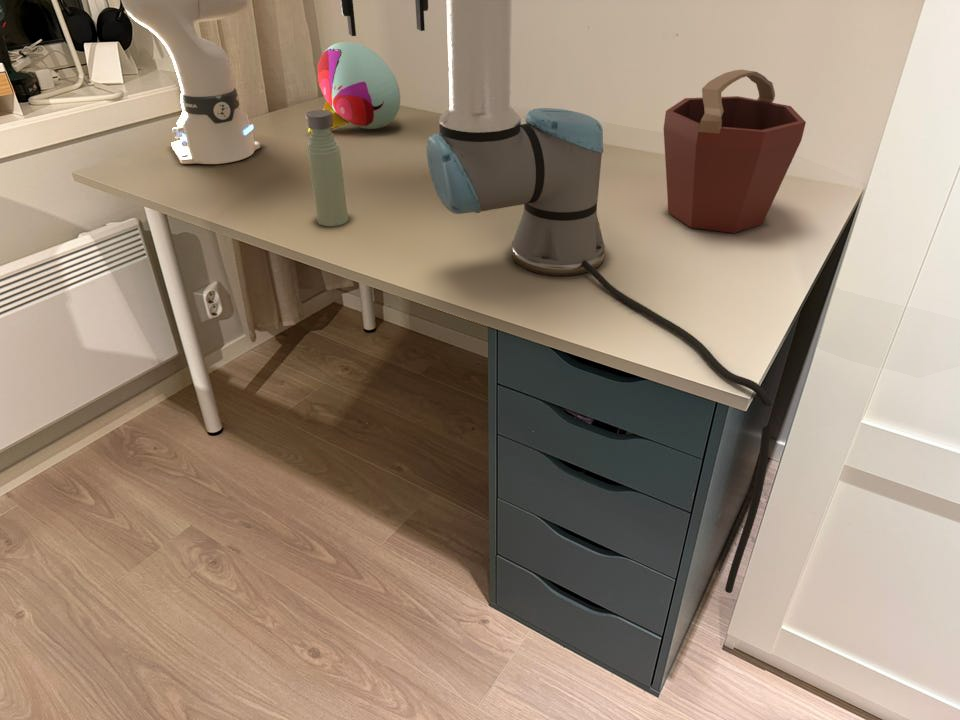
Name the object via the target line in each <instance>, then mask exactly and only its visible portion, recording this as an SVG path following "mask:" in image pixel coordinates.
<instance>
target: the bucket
mask: <svg viewBox="0 0 960 720" xmlns="http://www.w3.org/2000/svg"><path fill="white" fill-rule="evenodd" d="M746 77H747V78H748V79H749V80H750V81H751V82H752V83H754V84H755V85H756V88H757V91H758V98H757V99H754V98H750V97H744V96H739V95H736V96H733V95H732V96H731V95H730V96H722V92H724V91H725V90H726V89H727V88H728V87H729V86H730V85H732V84H734V83H735V82H737V81H738V80H740V79H743V78H746ZM701 96H702V97H685V98H683V99H682V100H680V101H679V102H677V103H676V104H674V105H672V106H670V107H669V108H668V109H667V110H665V115H664V122H663V143H664V156H665V157H664V159H665V161H664V162H665V177H666V179H665V180H666V192H667V193H666V194H667V196H666V197H667V212H668V214H670V215H671V216H672V217H674V218H676V219H677V220H679V221H680V222H681V223H683V224H684V225H686V226H687V227H689V228H691V229H698V230H707V231H715V232H721V233H732V234H735V233H739V232H742V231H745V230H749V229H751V228H754V227H757V226H760V225H762V224H764V222H765V219H766V218H767V215H768V213H769V211H770V209H771V207H772V205H773V202H774V201H775V198H776V196H777V195H778V192H779V189H780V187H781V185H782V183H783V181H784V179H785V177H786V175H787V173H788V170H789V168H790V167H791V164H792V162H793V159H794V158H795V155H796V153H797V151H798V150H799V149H798V148H799V147H800V145H801V142H802V139H803V135H804V132H805V128H806V125H807V124H806V120H805V119H804V118H803V117H802V116H801V115H800V114H799V113H798V112H797V111H796V110H795V109H794V108H793V107H792V106H791V105H787V104H781V103H776V102H774V101H775V98H776V92H775V88H774V83H773V82H772V81H771V80H769V79H768V78H767V77H766V76H765V75H763V74H761V73H760V72H758V71H755V70H748V69H735V70H732V71H727V72H724V73H722V74H720V75H717V76H716V77H714V78H713V79H711V80H709V81H708V82H707V83H706V84H705V85H704V86H703V87H702V88H701Z"/></svg>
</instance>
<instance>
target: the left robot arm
mask: <svg viewBox="0 0 960 720" xmlns="http://www.w3.org/2000/svg"><path fill="white" fill-rule="evenodd" d="M120 2H121V4H122V6H123V9H124V10H125V11H126V13H127V15H128V16H129V17H131V19H132V20H134V21H135V22H136V23H138V24H139V25H141V26H142V27H144V28H146V29H147V30H149V31H150V32H151V33H152V34H153V35H154V36H156V38H158V39H159V40H160V42H161V43H162V44H163V46H164V47H165V49H166V50H167V52H168V54H169V55H170V58H171V60H172V63H173V66H174V69H175V72H176V76H177V78H178V83H179V87H180V91H181V93H180V100H179V101H180V104H181V109H182V110H181V111H182V112H181V115H180V117H179V118H178V120H177V122H176V126H177V127H173V128H172V134H173V137H174V139H176V141H173V142H171V148H172V151H173V152H174V154H175V156H176V157H177V159H178V160H179V162H180V163H181V164H182V165H192V164H193V165H194V164H197V165H198V164H199V165H200V164H201V165H221V164H229V163H233V162H234V163H235V162H238V161H241V160H244V159H247V158H249V157H251V156H252V155H253V154H254V153H255V151H256V150H258V149H260V148H261V143H260V142H259V141H256V140H255V139H254V136H253V132H252V131H253V130H254V124H250V120H249V116H248V114H247V113H246V111H244V110H243V109H242V108H240V101H239V94H238V90H237V88H235V86H234V81H233V76H232V71H231V65H230V61H229V56H228V55H227V53H226V51H225V50H224V48H223V47H221V45H219V44H218V43H215V42H213V41H211V40H208V39H205V38H204V37H203V38H202V37H200V36H199V35H198V33H197V31H196V29H195V28H196V27H195V24H196V23H202V22H204V23H205V22H211V21H212V22H213V21H221V20H226V19H230V18H232V17H235V16H238V15H240V14H243V13H245V12H246V10H247V8H248V6H249V4H250V0H120ZM178 139H179V140H178Z"/></svg>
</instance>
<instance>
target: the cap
mask: <svg viewBox="0 0 960 720" xmlns="http://www.w3.org/2000/svg"><path fill="white" fill-rule="evenodd" d="M305 120H306V127H307V129H309V128H310V129H327V128H330V127H332V126H333V118H332V112H331V111H327V110H323V109H318V110H317V109H316V110H310V111H308V112H306V113H305Z"/></svg>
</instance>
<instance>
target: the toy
mask: <svg viewBox="0 0 960 720" xmlns="http://www.w3.org/2000/svg"><path fill="white" fill-rule="evenodd" d="M317 81H318V85H319V88H320V91H321V93H322V95H323V97H324V99H325V102H324V108H323V109H322V110H327V111H331V112H332V118H333V126H332V127H330V130H333V129H336V128H339V127H342V126H345V125H347V124H351V125H353V126H356V127H358V128H361V129H366V130H378V129H382V128H384V127H386V126H388V125H390V124H391V123H392V122H393V121H394V120H395V118H396V117H397V115H398V113H399V111H400V107H401V91H400V86H399V84H398V80H397V78H396V76H395V74H394V72H393V71H392V69H391V67H390V66H389V65H388V64H387V62H386V61H385V60H384V59H383V58H382V57H381V56H380V55H379V54H378V53H376V52H375V51H374V50H372V49H370V48H369V47H367V46H365V45H362V44H360V43H357V42H353V41H352V42H351V41H341V42H337V43H336V42H335V43H334V44H332V45H330V46H329V47H327V48H326V49H325V50H324V51H323V52H322V54H321V56H320V58H319V61H318V64H317ZM307 132H308V134H311V133H312V132H311V129H310V128H308V129H307Z"/></svg>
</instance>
